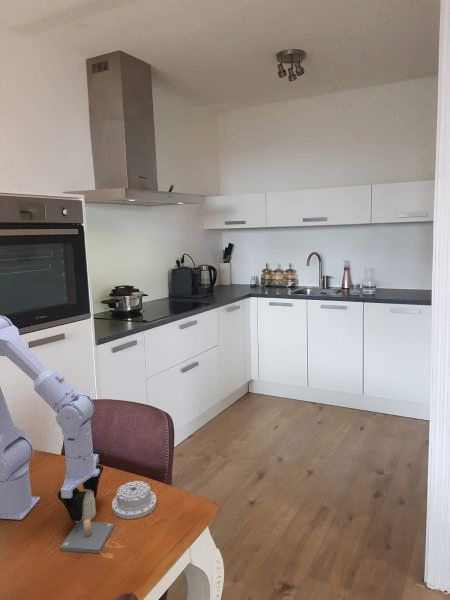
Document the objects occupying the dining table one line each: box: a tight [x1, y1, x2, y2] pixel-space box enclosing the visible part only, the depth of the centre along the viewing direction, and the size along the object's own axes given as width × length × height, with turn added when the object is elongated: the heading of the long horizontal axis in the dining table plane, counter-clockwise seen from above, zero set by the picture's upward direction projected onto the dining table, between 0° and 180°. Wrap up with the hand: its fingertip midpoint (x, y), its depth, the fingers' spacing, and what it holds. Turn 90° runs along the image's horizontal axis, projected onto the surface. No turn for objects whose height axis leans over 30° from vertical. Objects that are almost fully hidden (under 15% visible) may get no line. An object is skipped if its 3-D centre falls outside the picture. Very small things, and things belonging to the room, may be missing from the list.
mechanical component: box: [111, 480, 157, 520], centre depth 105 cm, size 10×4×10 cm
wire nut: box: [74, 488, 97, 523], centre depth 102 cm, size 5×5×5 cm
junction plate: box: [60, 518, 115, 554], centre depth 95 cm, size 8×8×4 cm
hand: (84, 509), depth 102 cm, fingers open, 7 cm apart
